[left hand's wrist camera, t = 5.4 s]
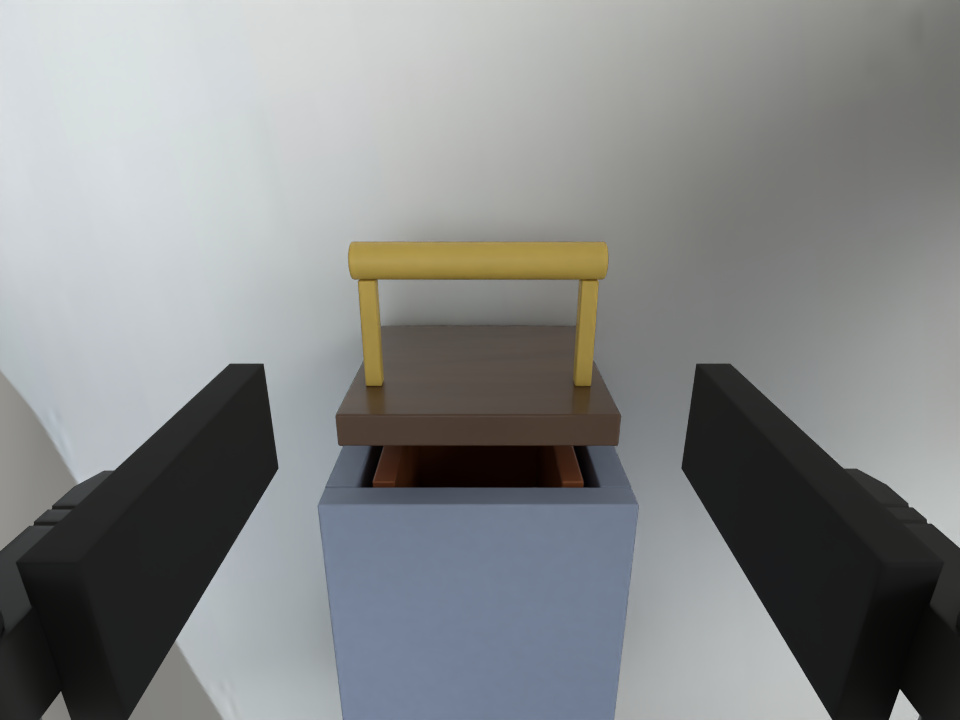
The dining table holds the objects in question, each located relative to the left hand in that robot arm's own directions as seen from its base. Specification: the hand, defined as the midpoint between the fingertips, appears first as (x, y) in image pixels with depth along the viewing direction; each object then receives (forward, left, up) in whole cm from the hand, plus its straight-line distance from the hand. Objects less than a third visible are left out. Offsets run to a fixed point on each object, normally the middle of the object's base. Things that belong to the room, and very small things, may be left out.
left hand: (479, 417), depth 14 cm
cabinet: (+14, +1, -16) cm, 22 cm away
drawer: (+8, 0, -15) cm, 17 cm away
